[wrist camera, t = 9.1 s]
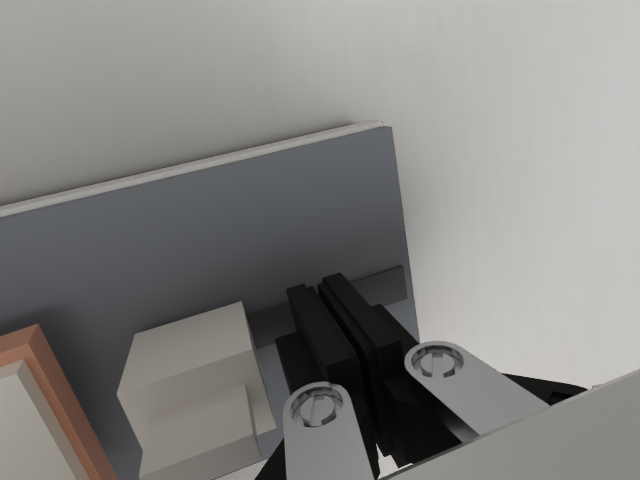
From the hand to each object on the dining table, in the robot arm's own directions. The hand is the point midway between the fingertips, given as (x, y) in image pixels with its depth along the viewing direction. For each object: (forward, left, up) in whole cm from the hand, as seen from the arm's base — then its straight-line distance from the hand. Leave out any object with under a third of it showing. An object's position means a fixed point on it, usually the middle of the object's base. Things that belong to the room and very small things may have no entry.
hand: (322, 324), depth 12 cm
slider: (-4, 0, -1) cm, 4 cm away
